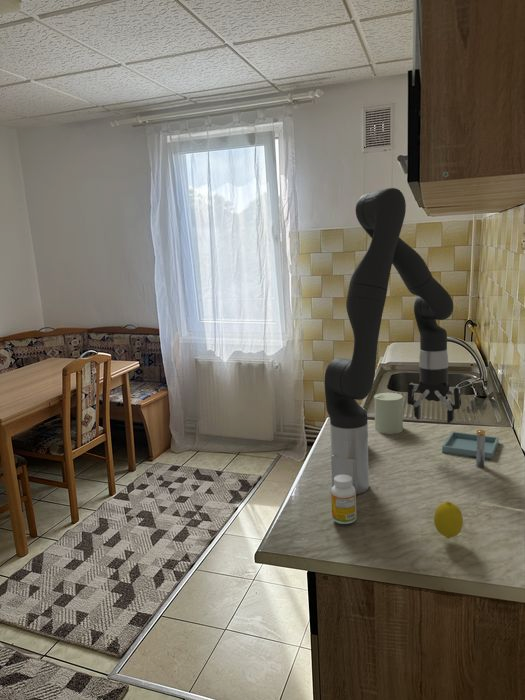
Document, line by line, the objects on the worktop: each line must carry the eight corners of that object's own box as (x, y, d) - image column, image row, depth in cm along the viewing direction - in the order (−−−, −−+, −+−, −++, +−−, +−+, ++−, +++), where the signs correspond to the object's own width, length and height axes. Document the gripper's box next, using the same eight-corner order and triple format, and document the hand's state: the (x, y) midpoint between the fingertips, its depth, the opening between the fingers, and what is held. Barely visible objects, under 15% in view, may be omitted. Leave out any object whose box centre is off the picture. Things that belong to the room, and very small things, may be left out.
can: (371, 426, 172) (370, 392, 170) (398, 424, 173) (397, 390, 171) (378, 435, 163) (378, 399, 161) (407, 433, 164) (406, 397, 162)
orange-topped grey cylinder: (483, 468, 135) (484, 432, 134) (475, 467, 137) (476, 431, 135) (484, 465, 137) (485, 430, 135) (476, 464, 138) (477, 429, 136)
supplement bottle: (335, 511, 118) (333, 471, 116) (358, 514, 116) (357, 474, 114) (329, 522, 113) (328, 482, 111) (353, 526, 111) (352, 484, 109)
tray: (491, 460, 140) (491, 453, 140) (442, 452, 147) (442, 446, 147) (498, 443, 151) (498, 437, 151) (452, 437, 158) (452, 431, 158)
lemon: (447, 527, 108) (447, 493, 107) (468, 540, 103) (469, 503, 102) (428, 535, 106) (428, 500, 104) (449, 548, 101) (449, 511, 99)
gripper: (404, 366, 142) (405, 421, 145) (457, 369, 135) (457, 428, 138) (411, 360, 148) (412, 413, 151) (463, 363, 141) (462, 419, 144)
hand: (433, 420), depth 145 cm, fingers open, 8 cm apart
